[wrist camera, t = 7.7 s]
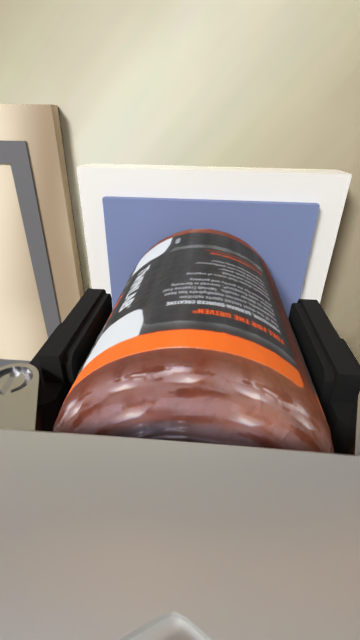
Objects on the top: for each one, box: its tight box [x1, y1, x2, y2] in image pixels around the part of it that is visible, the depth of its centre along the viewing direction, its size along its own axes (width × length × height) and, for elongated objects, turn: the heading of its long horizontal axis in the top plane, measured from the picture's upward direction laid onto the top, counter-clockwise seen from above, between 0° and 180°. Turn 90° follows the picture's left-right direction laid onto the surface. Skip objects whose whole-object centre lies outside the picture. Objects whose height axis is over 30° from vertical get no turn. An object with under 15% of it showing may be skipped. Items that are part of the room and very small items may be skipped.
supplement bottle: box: [53, 228, 334, 453], centre depth 9 cm, size 6×6×11 cm
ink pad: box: [76, 163, 352, 318], centre depth 15 cm, size 10×10×2 cm
